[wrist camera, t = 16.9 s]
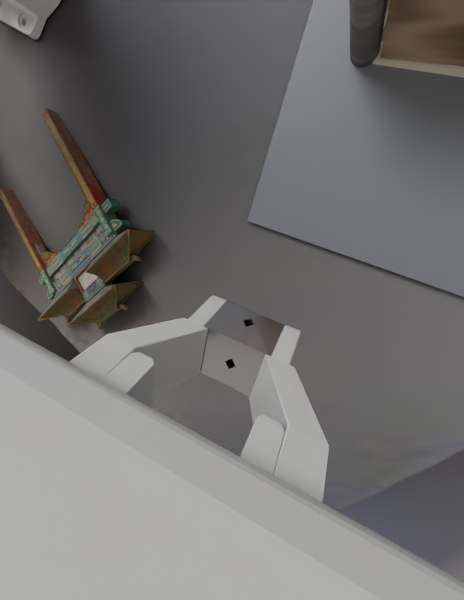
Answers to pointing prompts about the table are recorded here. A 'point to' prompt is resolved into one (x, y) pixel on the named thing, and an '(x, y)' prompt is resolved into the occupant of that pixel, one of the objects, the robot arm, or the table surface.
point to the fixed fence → (366, 30)
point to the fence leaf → (425, 31)
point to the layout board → (369, 157)
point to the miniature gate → (82, 246)
